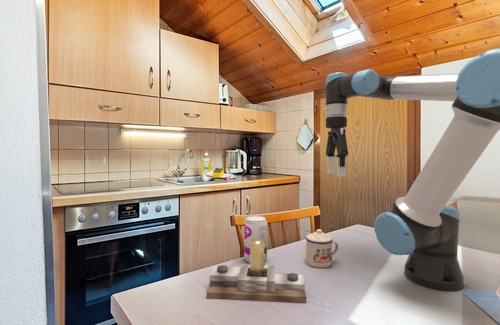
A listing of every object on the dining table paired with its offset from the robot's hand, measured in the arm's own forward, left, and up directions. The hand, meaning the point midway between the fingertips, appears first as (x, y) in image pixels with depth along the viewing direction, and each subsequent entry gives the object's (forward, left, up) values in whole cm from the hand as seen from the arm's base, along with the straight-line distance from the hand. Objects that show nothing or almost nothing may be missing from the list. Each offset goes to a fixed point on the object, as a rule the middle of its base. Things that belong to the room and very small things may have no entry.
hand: (335, 174), depth 101 cm
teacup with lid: (-1, +9, -30) cm, 32 cm away
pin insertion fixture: (+3, +38, -30) cm, 49 cm away
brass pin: (+4, +38, -29) cm, 48 cm away
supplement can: (+17, +24, -30) cm, 43 cm away
